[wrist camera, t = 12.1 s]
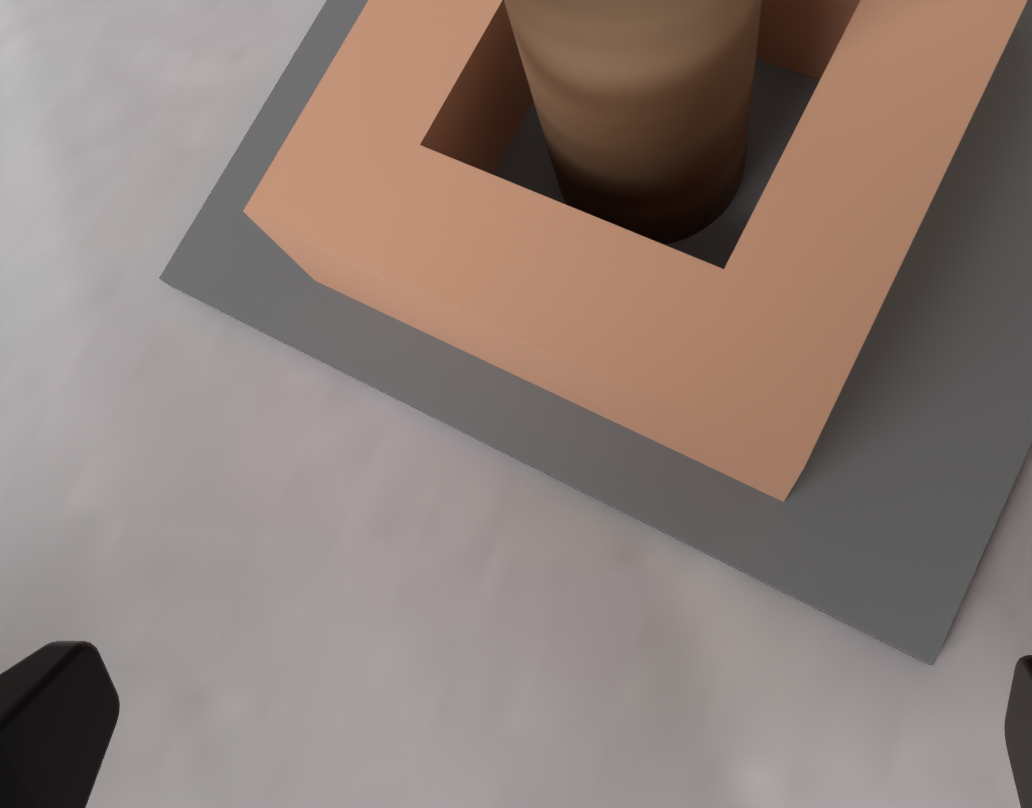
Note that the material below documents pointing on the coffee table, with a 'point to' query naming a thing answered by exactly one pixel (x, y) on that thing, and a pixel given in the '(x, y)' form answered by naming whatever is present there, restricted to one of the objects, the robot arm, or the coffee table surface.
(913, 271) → the mat
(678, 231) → the walnut peg
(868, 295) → the socket block
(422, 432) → the coffee table surface
